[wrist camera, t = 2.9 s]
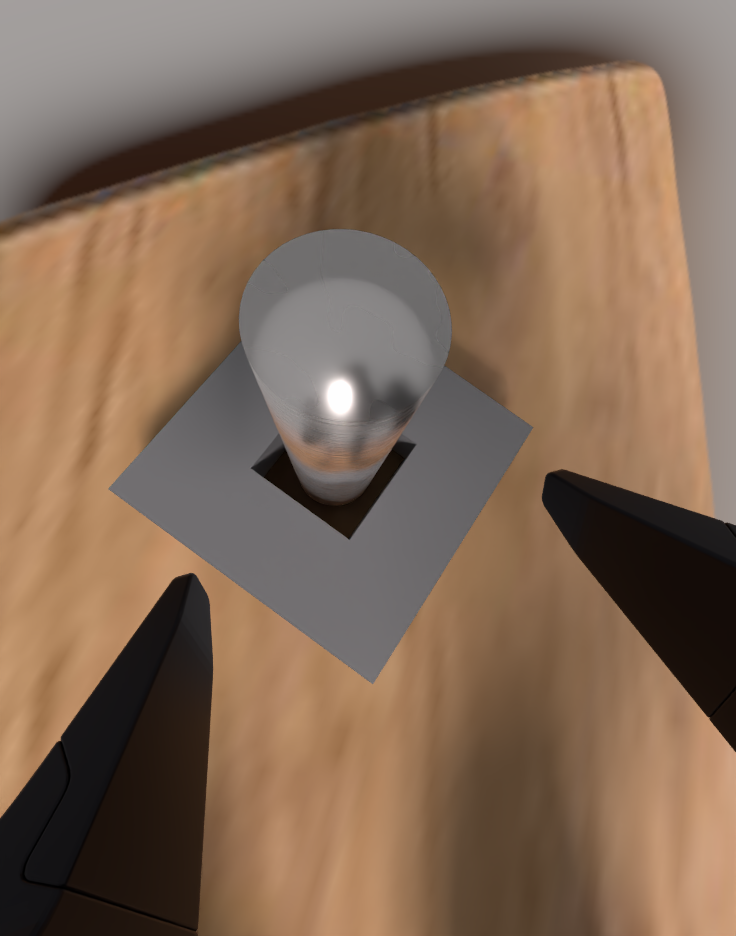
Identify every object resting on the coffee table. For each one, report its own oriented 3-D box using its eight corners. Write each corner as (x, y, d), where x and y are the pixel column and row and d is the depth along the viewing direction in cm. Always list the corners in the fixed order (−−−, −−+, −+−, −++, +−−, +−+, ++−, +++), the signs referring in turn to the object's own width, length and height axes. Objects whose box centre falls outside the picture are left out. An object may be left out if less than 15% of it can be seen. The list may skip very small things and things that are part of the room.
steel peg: (385, 461, 21) (489, 306, 8) (343, 520, 20) (374, 465, 7) (327, 419, 21) (325, 194, 8) (281, 476, 21) (192, 335, 7)
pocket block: (506, 443, 22) (533, 427, 19) (365, 663, 19) (372, 684, 16) (308, 305, 23) (305, 269, 20) (140, 497, 20) (108, 488, 17)
